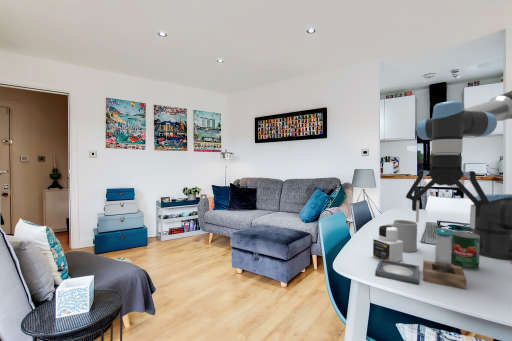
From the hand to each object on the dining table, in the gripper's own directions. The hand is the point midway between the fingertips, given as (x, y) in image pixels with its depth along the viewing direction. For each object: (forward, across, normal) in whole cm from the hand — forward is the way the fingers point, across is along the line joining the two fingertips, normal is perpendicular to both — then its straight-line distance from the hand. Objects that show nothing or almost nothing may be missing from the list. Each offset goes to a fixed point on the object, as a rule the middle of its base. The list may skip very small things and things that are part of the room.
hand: (443, 224), depth 80 cm
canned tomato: (+17, -7, -16) cm, 25 cm away
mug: (+17, +13, -25) cm, 33 cm away
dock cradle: (+17, +12, +3) cm, 21 cm away
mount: (+17, 0, 0) cm, 17 cm away
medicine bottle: (+17, +16, -9) cm, 25 cm away
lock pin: (+17, 0, 0) cm, 17 cm away
